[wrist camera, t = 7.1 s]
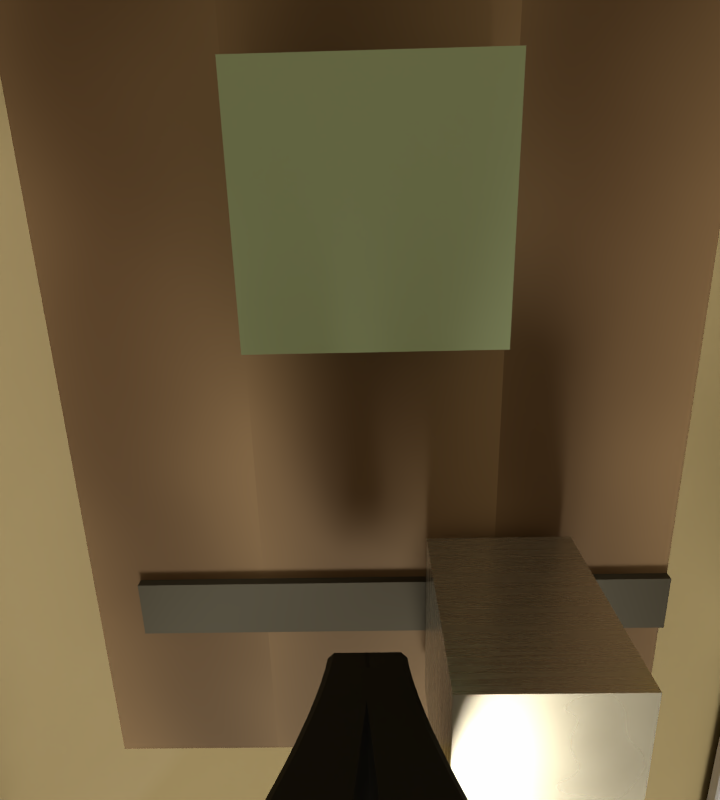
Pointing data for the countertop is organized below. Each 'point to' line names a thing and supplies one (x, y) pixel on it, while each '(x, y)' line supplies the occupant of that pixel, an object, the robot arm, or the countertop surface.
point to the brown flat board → (355, 372)
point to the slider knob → (533, 674)
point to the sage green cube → (373, 197)
